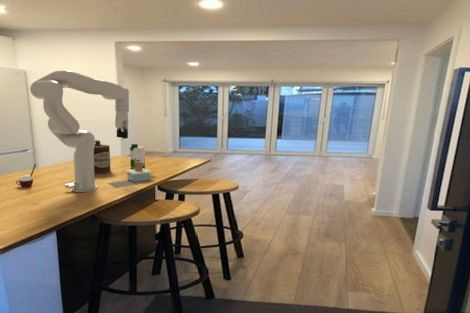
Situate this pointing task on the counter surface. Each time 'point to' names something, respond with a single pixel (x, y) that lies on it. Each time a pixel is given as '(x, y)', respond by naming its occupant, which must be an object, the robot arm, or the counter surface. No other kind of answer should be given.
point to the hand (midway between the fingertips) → (122, 137)
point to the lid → (138, 169)
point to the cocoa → (26, 179)
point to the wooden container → (101, 158)
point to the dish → (138, 177)
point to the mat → (122, 184)
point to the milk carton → (137, 155)
